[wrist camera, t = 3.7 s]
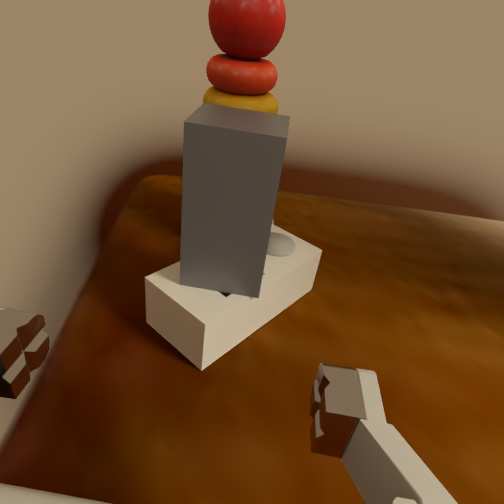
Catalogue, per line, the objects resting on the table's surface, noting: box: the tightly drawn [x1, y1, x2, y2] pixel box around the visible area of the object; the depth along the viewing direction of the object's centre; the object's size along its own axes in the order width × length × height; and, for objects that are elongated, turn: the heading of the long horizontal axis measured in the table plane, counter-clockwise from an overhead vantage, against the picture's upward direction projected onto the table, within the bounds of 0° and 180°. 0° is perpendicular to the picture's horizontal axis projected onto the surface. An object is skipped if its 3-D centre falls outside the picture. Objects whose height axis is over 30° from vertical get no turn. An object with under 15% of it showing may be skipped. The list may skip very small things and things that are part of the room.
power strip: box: [145, 224, 322, 371], centre depth 25 cm, size 11×5×4 cm, turn 138°
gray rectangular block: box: [180, 103, 290, 298], centre depth 21 cm, size 4×4×11 cm
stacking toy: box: [203, 0, 286, 225], centre depth 29 cm, size 8×8×19 cm
